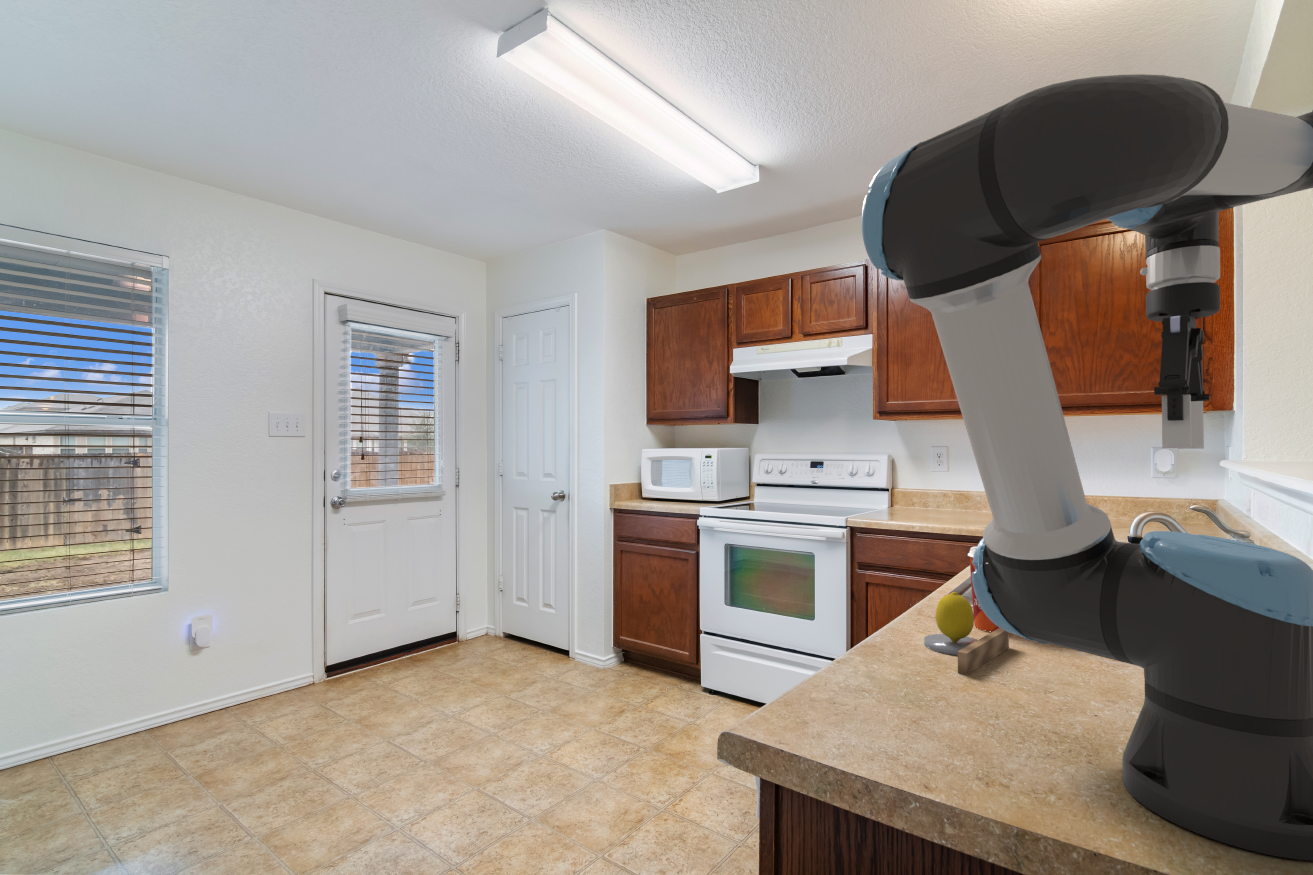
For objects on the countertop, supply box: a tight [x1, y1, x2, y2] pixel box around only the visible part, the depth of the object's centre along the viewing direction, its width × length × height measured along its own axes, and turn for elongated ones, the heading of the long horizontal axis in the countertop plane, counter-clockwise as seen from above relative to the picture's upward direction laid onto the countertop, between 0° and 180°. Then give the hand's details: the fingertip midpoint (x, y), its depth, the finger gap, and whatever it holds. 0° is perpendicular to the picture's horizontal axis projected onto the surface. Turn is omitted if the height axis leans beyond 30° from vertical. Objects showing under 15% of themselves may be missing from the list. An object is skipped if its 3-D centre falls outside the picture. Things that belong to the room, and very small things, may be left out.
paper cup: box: [967, 546, 999, 633], centre depth 112 cm, size 8×8×14 cm
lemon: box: [935, 591, 975, 642], centre depth 101 cm, size 6×6×8 cm
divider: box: [957, 628, 1010, 676], centre depth 95 cm, size 18×1×3 cm, turn 134°
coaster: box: [923, 633, 978, 656], centre depth 101 cm, size 9×9×1 cm
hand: (1184, 448), depth 83 cm, fingers open, 13 cm apart
